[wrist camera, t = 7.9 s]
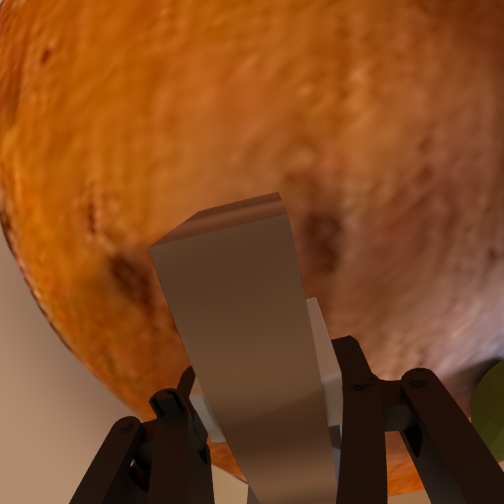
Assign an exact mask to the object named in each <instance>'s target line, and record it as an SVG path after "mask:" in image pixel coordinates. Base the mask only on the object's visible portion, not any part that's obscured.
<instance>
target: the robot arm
mask: <svg viewBox="0 0 504 504" xmlns="http://www.w3.org/2000/svg"><path fill="white" fill-rule="evenodd" d="M306 303H307V308H308V313H309V318H310V323H311V328H312V333H313V339H314V344H315V349H316V355H317V360H318V366H319V372H320V378H321V383H322V389H323V395H324V401H325V407H326V414H327V420H328V426H329V427H330V426H334V425H339V424H342V437H341V453H340V466H339V477H338V488H337V497H336V504H387V464H386V446H385V431H399V432H400V435H401V437H402V439H403V441H404V443H405V445H406V447H407V450H408V452H409V454H410V456H411V458H412V460H413V463H414V465H415V467H416V469H417V472H418V474H419V476H420V478H421V481H422V483H423V485H424V487H425V490H426V492H427V494H428V497H429V499H430V501H431V504H504V472H503V470H502V469H501V467H500V466H499V464H498V463H497V461H496V460H495V458H494V456H493V455H492V453H491V452H490V450H489V449H488V447H487V446H486V444H485V443H484V441H483V440H482V439H481V437H480V436H479V434H478V433H477V431H476V430H475V428H474V427H473V425H472V424H471V423H470V421H469V420H468V418H467V417H466V416H465V414H464V413H463V411H462V410H461V409H460V407H459V406H458V404H457V403H456V402H455V400H454V399H453V398H452V396H451V395H450V393H449V392H448V391H447V389H446V388H445V387H444V385H443V384H442V383H441V381H440V380H439V379H438V377H437V376H436V375H435V373H433V372H432V371H431V370H429V369H426V368H415V369H411V370H409V371H407V372H406V373H405V374H404V375H403V376H402V378H401V380H395V381H386V380H381V379H379V378H378V377H377V376H376V375H374V374H373V373H372V372H371V369H370V367H369V365H368V363H367V361H366V358H365V356H364V354H363V352H362V350H361V348H360V345H359V343H358V341H357V340H356V339H355V338H353V337H352V336H350V335H349V336H345V337H341V338H337V339H333V340H330V337H329V334H328V331H327V328H326V325H325V322H324V319H323V316H322V313H321V310H320V307H319V304H318V301H317V298H316V297H313V298H308V299H306ZM149 403H150V405H151V407H152V408H153V410H154V412H155V413H156V415H157V419H155V420H151V421H148V422H144V423H141V422H140V420H139V419H138V418H136V417H133V416H127V417H124V418H121V419H120V420H118V421H117V422H116V423H115V424H114V425H113V426H112V428H111V430H110V432H109V433H108V435H107V437H106V439H105V440H104V442H103V444H102V445H101V447H100V449H99V451H98V453H97V454H96V456H95V458H94V460H93V461H92V463H91V465H90V467H89V468H88V470H87V472H86V474H85V475H84V477H83V479H82V481H81V483H80V485H79V486H78V488H77V490H76V492H75V494H74V495H73V497H72V499H71V501H70V503H69V504H215V502H214V492H213V482H212V470H211V458H210V449H209V447H208V445H207V443H206V442H207V437H208V436H209V438H210V440H211V442H212V443H221V442H227V441H226V439H225V437H224V435H223V433H222V431H221V429H220V427H219V425H218V423H217V421H216V419H215V416H214V414H213V412H212V410H211V408H210V406H209V404H208V401H207V399H206V397H205V395H204V392H203V390H202V388H201V386H200V383H199V381H198V379H197V376H196V374H195V372H194V369H193V367H192V366H190V367H188V368H187V369H186V370H185V371H184V372H183V374H182V376H181V379H180V382H179V384H178V388H177V389H173V388H168V389H163V390H160V391H158V392H157V393H155V394H154V395H153V396H152V397H151V398H150V400H149ZM132 460H133V465H132V466H130V465H131V463H132Z"/></svg>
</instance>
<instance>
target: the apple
mask: <svg viewBox="0 0 504 504" xmlns="http://www.w3.org/2000/svg"><path fill="white" fill-rule="evenodd" d="M471 424H472V425H473V427H474V428H475V430H476V431H477V433H478V434H479V436H480V437H481V439H482V440H483V441H484V443H485V444H486V446H487V447H488V449H489V450H490V452H491V453H492V455H493V456H494V458H495V460H496V461H497V462H501V461H504V360H502V361H501V362H499V363H497V364H496V365H495V366H493V367H492V368H491V369H490V370H489V371H488V372H487V373H486V374H485V375H484V377H483V378H482V379H481V381H480V382H479V383H478V385H477V387H476V389H475V391H474V393H473V395H472V399H471Z"/></svg>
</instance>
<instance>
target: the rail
mask: <svg viewBox="0 0 504 504" xmlns="http://www.w3.org/2000/svg"><path fill="white" fill-rule="evenodd" d="M149 251H150V254H151V257H152V260H153V263H154V266H155V269H156V272H157V275H158V278H159V281H160V284H161V287H162V289H163V292H164V295H165V298H166V301H167V303H168V306H169V309H170V311H171V314H172V317H173V320H174V322H175V325H176V327H177V330H178V333H179V335H180V338H181V340H182V343H183V345H184V348H185V350H186V353H187V355H188V357H189V360H190V362H191V365H192V367H193V369H194V372H195V374H196V376H197V379H198V381H199V383H200V386H201V388H202V390H203V392H204V395H205V397H206V399H207V401H208V404H209V406H210V408H211V410H212V412H213V414H214V416H215V419H216V421H217V423H218V425H219V427H220V429H221V431H222V433H223V435H224V437H225V439H226V441H227V443H228V445H229V447H230V449H231V451H232V453H233V455H234V457H235V459H236V461H237V463H238V465H239V467H240V468H241V470H242V472H243V474H244V476H245V478H246V480H247V481H248V483H249V485H250V487H251V489H252V490H253V492H254V494H255V496H256V497H257V499H258V501H259V503H260V504H336V497H337V483H336V475H335V468H334V460H333V453H332V446H331V440H330V433H329V426H328V420H327V414H326V407H325V401H324V395H323V389H322V383H321V378H320V372H319V366H318V360H317V355H316V349H315V344H314V339H313V333H312V328H311V323H310V318H309V313H308V308H307V303H306V298H305V293H304V288H303V283H302V278H301V273H300V269H299V264H298V259H297V254H296V250H295V245H294V241H293V236H292V232H291V227H290V223H289V219H288V214H287V212H286V209H285V207H284V205H283V202H282V200H281V197H280V195H279V193H278V192H276V193H271V194H267V195H263V196H259V197H254V198H250V199H246V200H242V201H238V202H234V203H230V204H226V205H222V206H218V207H214V208H210V209H207V210H203V211H199V212H197V213H196V214H195V215H193V216H192V217H190V218H189V219H188V220H186V221H185V222H183V223H182V224H181V225H179V226H178V227H176V228H175V229H174V230H172V231H171V232H169V233H168V234H167V235H165V236H164V237H163V238H161V239H160V240H159V241H157V242H156V243H154V244H153V245H152V246H150V247H149Z"/></svg>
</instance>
